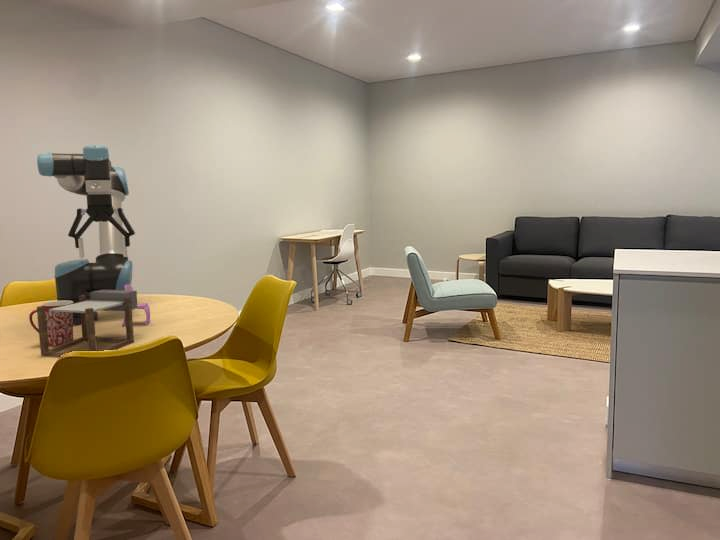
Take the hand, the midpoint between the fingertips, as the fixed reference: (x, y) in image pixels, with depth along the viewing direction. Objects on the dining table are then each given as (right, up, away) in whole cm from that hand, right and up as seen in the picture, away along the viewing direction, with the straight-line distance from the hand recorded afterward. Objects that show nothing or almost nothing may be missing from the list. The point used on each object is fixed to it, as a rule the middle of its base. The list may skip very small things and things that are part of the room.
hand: (103, 257), depth 183 cm
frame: (+1, -29, -12) cm, 31 cm away
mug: (-13, -29, -7) cm, 32 cm away
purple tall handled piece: (+3, -25, +19) cm, 31 cm away
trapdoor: (+2, -18, -10) cm, 21 cm away
